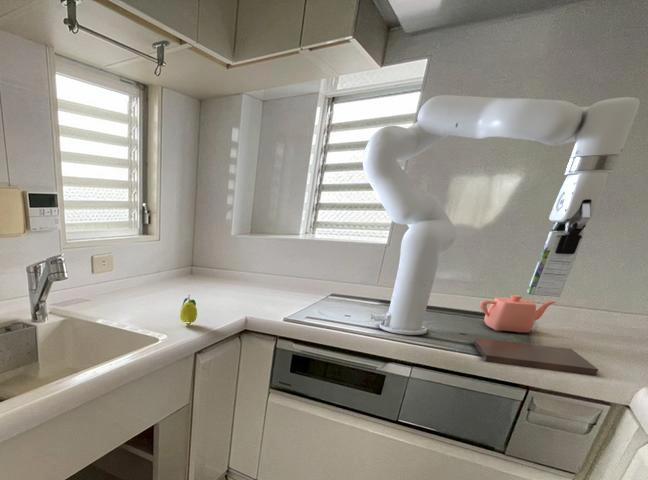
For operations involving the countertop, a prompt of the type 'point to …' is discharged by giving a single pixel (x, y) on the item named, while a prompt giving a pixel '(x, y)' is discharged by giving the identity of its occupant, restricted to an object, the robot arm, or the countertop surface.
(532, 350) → the cutting board
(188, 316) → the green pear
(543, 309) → the teapot
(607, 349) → the countertop surface
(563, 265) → the syrup box
